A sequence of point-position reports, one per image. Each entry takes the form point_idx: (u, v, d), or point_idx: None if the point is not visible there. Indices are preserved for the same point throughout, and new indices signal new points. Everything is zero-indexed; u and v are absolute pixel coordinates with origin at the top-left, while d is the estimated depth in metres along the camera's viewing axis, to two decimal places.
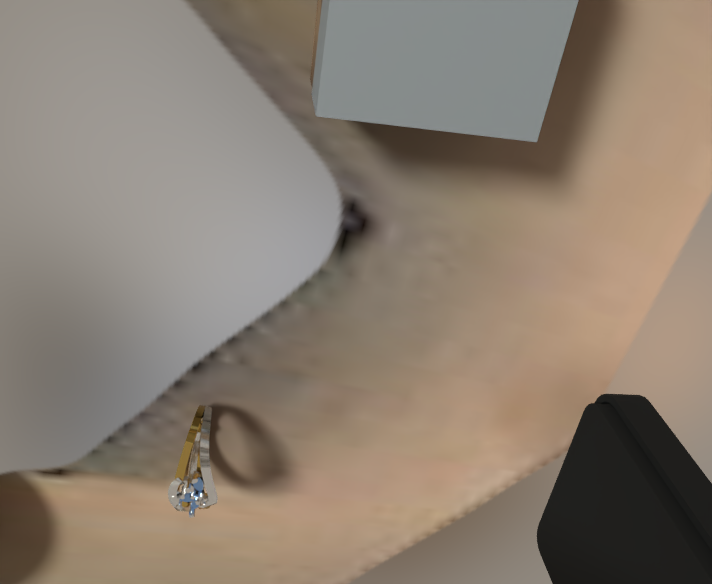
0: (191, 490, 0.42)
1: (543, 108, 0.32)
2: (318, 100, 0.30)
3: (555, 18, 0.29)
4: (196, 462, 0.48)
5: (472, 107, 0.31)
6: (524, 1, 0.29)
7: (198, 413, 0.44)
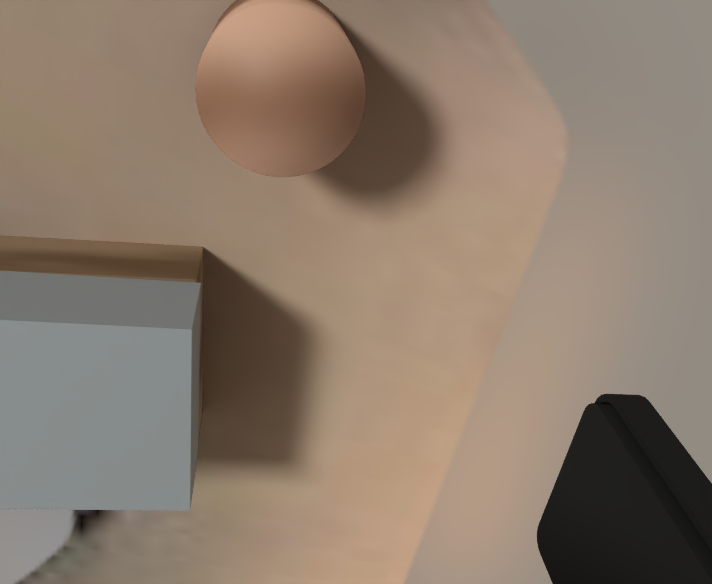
0: None
1: (186, 486, 0.32)
2: None
3: (172, 425, 0.30)
4: None
5: (113, 491, 0.32)
6: (135, 415, 0.30)
7: None
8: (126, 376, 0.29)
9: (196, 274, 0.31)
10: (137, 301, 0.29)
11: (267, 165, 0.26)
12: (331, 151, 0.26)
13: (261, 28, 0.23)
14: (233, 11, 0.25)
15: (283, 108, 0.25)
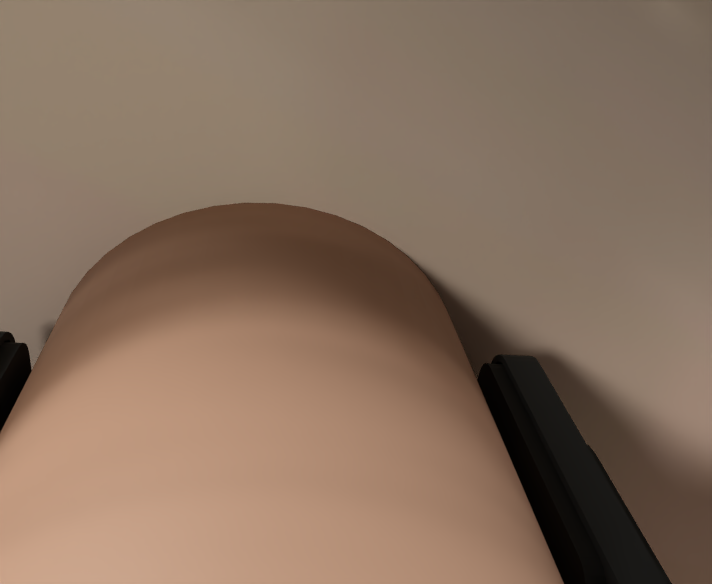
0: None
1: None
2: None
3: None
4: None
5: None
6: None
7: None
8: None
9: None
10: None
11: None
12: None
13: None
14: (44, 434, 0.06)
15: None
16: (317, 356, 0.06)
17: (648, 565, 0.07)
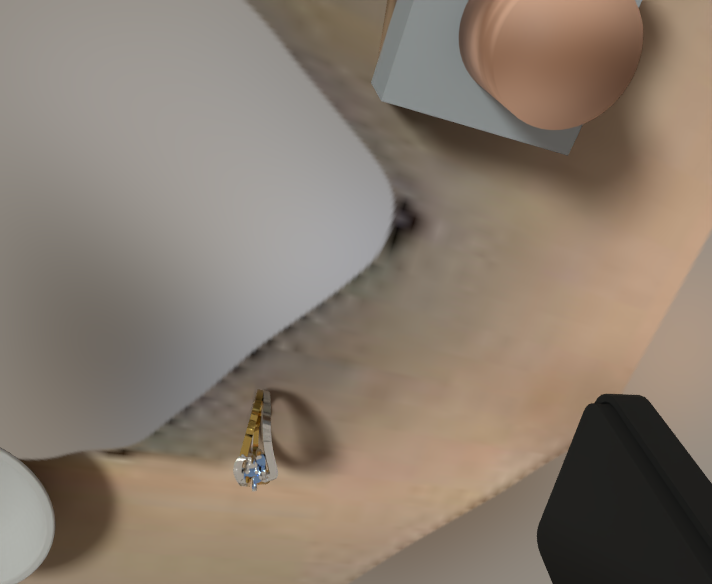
0: (255, 466, 0.46)
1: (578, 126, 0.35)
2: (386, 86, 0.33)
3: None
4: (252, 443, 0.52)
5: None
6: None
7: (258, 396, 0.48)
8: None
9: None
10: None
11: (536, 117, 0.29)
12: (594, 110, 0.29)
13: None
14: None
15: (566, 65, 0.28)
16: None
17: None
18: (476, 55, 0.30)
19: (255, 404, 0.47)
